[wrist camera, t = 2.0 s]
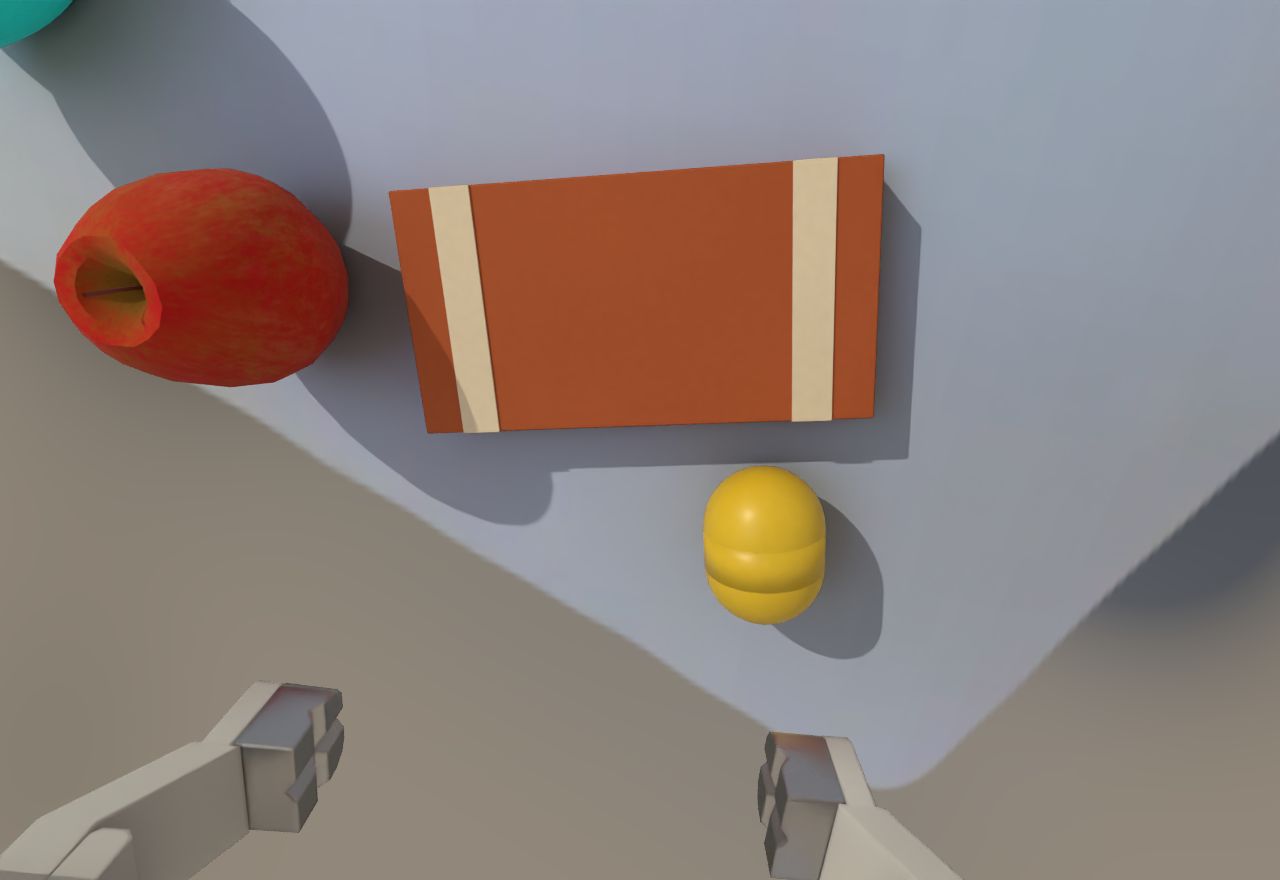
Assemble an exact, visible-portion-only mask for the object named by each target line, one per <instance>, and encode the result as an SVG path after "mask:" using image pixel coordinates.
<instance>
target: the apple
mask: <svg viewBox="0 0 1280 880" xmlns="http://www.w3.org/2000/svg"><path fill="white" fill-rule="evenodd" d="M54 284H55V288H56V292H57V296H58V299H59V302H60V304H61V305H62V307H63V308H64V310H65V311H66V313H67V314H68V315H69V317H70V319H71V320H72V321H73V323H74V324H75V325H76V327H77V328H78V329H79V330H80V332H81V333H82V334H83V335H84V336H85V337H86V338H87V339H89V340H90V341H91V342H92V343H93V344H94V345H96V346H97V347H98V348H99V349H100V350H101V351H103V352H104V353H105V354H107V355H109V356H110V357H112V358H114V359H116V360H117V361H119V362H121V363H122V364H125V365H127V366H130V367H133V368H135V369H138V370H141V371H143V372H146V373H149V374H152V375H155V376H158V377H161V378H165V379H168V380H171V381H176V382H186V383H196V384H206V385H215V386H225V387H236V386H245V385H255V384H264V383H273V382H276V381H278V380H280V379H283V378H285V377H287V376H289V375H291V374H293V373H295V372H297V371H299V370H301V369H303V368H305V367H307V366H309V365H311V364H313V363H314V361H315V360H316V359H317V358H318V357H319V356H320V355H321V353H322V352H323V351H324V350H325V349H326V348H327V347H328V345H329V344H330V343H331V342H332V341H333V340H334V338H335V336H336V334H337V332H338V330H339V328H340V326H341V325H342V323H343V321H344V318H345V315H346V311H347V308H348V305H349V281H348V274H347V270H346V267H345V264H344V261H343V257H342V254H341V251H340V248H339V246H338V244H337V243H336V241H335V240H334V238H333V237H332V235H331V234H330V232H329V231H328V229H327V228H326V227H325V226H324V225H323V224H322V223H321V222H320V221H319V220H318V219H317V218H316V217H315V216H314V215H313V214H312V213H311V212H310V211H309V210H308V209H307V208H306V207H305V206H304V205H303V204H302V203H301V202H300V201H299V200H298V199H297V198H296V197H295V196H294V195H293V194H291V193H290V192H288V191H286V190H285V189H283V188H282V187H280V186H278V185H277V184H275V183H273V182H271V181H269V180H266V179H264V178H262V177H260V176H257V175H253V174H249V173H245V172H241V171H237V170H233V169H200V170H191V171H181V172H171V173H161V174H155V175H152V176H150V177H147V178H144V179H141V180H138V181H135V182H133V183H130V184H127V185H124V186H121V187H118V188H116V189H113V190H112V191H111V192H110V193H108V194H107V195H106V196H104V197H103V198H102V199H100V200H99V201H98V202H96V203H95V204H94V205H92V206H91V207H90V208H89V209H88V210H87V212H86V213H85V214H84V215H83V217H82V218H81V219H80V220H79V221H78V223H77V224H76V225H75V227H74V228H73V230H72V232H71V233H70V235H69V236H68V238H67V239H66V241H65V243H64V244H63V246H62V247H61V249H60V250H59V252H58V254H57V258H56V267H55V277H54Z"/></svg>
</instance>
